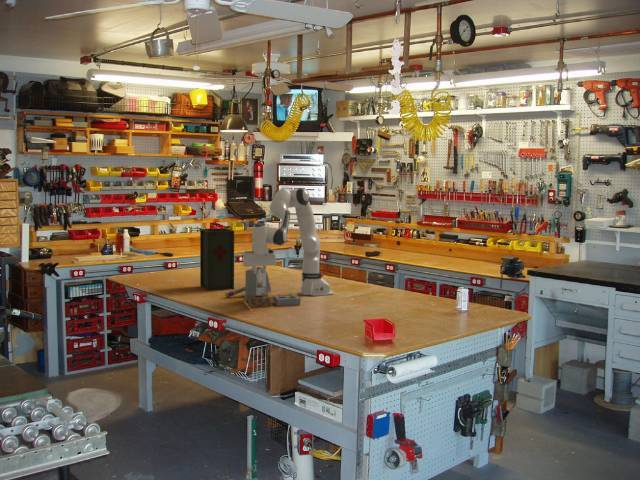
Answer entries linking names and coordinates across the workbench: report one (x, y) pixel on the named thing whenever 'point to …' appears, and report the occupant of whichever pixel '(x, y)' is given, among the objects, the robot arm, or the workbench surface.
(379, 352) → the workbench surface
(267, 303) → the rack
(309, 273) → the robot arm
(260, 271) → the frosted round peg
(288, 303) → the socket block
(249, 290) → the hard drive box
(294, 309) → the workbench surface
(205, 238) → the first aid box
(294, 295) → the tan block
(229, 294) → the hammer
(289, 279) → the workbench surface
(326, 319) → the workbench surface
